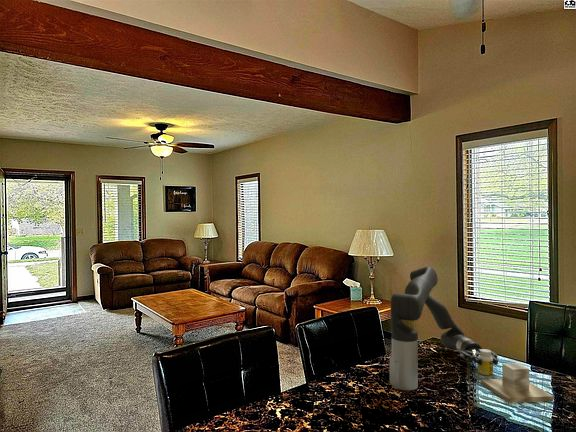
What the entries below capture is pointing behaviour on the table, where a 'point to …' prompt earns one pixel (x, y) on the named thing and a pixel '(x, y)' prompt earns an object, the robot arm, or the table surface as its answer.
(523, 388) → the pedestal
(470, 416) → the table surface
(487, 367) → the supplement bottle
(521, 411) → the table surface
